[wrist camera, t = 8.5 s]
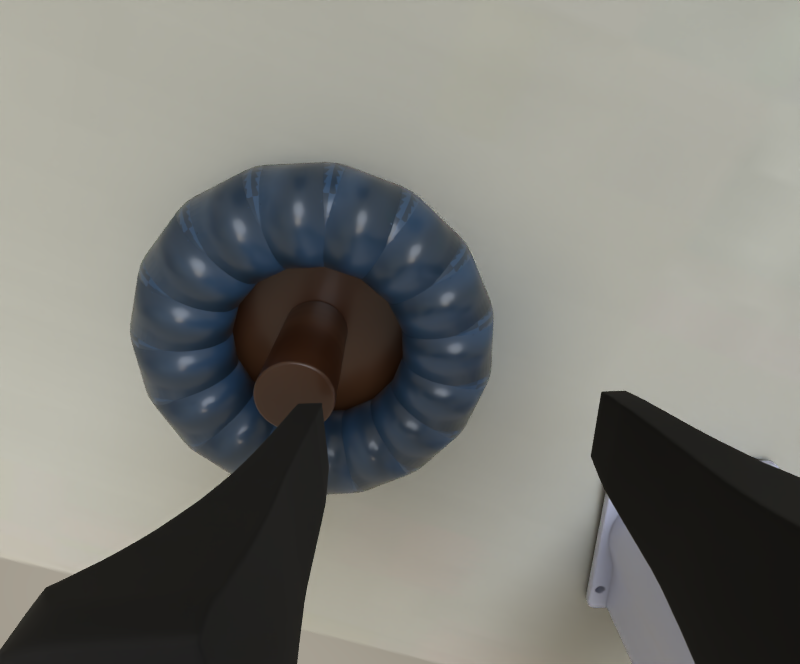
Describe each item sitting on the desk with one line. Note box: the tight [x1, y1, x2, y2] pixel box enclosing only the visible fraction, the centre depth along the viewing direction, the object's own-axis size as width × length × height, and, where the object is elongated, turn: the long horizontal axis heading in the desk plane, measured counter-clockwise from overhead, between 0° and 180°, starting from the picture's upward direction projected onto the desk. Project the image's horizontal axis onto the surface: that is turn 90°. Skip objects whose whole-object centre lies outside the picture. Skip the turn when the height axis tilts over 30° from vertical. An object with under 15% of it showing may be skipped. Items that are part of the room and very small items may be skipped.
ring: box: [130, 162, 493, 494], centre depth 17 cm, size 12×12×3 cm
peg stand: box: [233, 267, 403, 427], centre depth 17 cm, size 8×8×6 cm
